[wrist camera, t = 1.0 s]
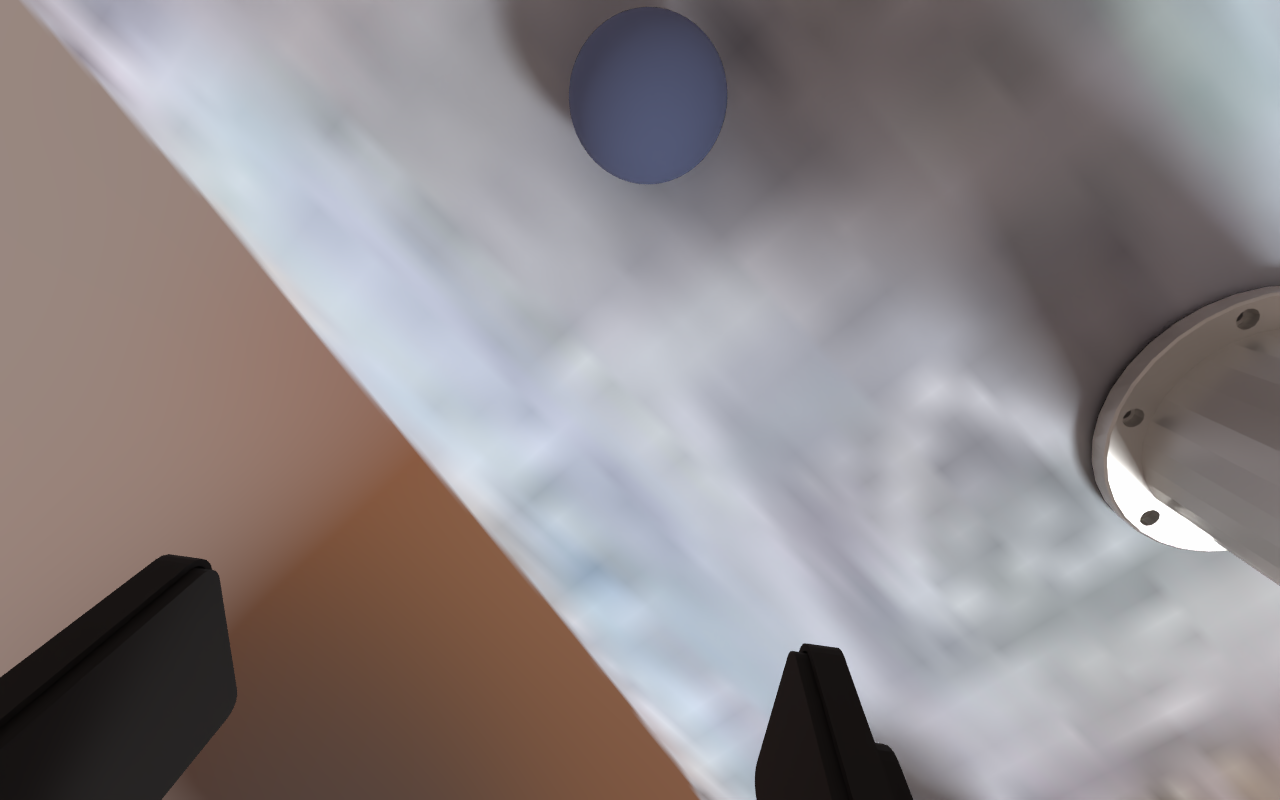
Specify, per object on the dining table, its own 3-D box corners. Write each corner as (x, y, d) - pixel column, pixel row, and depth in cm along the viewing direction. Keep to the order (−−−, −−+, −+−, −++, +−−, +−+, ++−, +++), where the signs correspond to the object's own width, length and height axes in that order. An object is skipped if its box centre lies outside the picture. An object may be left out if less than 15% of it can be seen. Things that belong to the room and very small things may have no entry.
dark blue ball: (730, 36, 22) (750, -3, 17) (708, 189, 24) (720, 195, 19) (585, 18, 22) (562, -25, 17) (575, 174, 24) (552, 175, 19)
